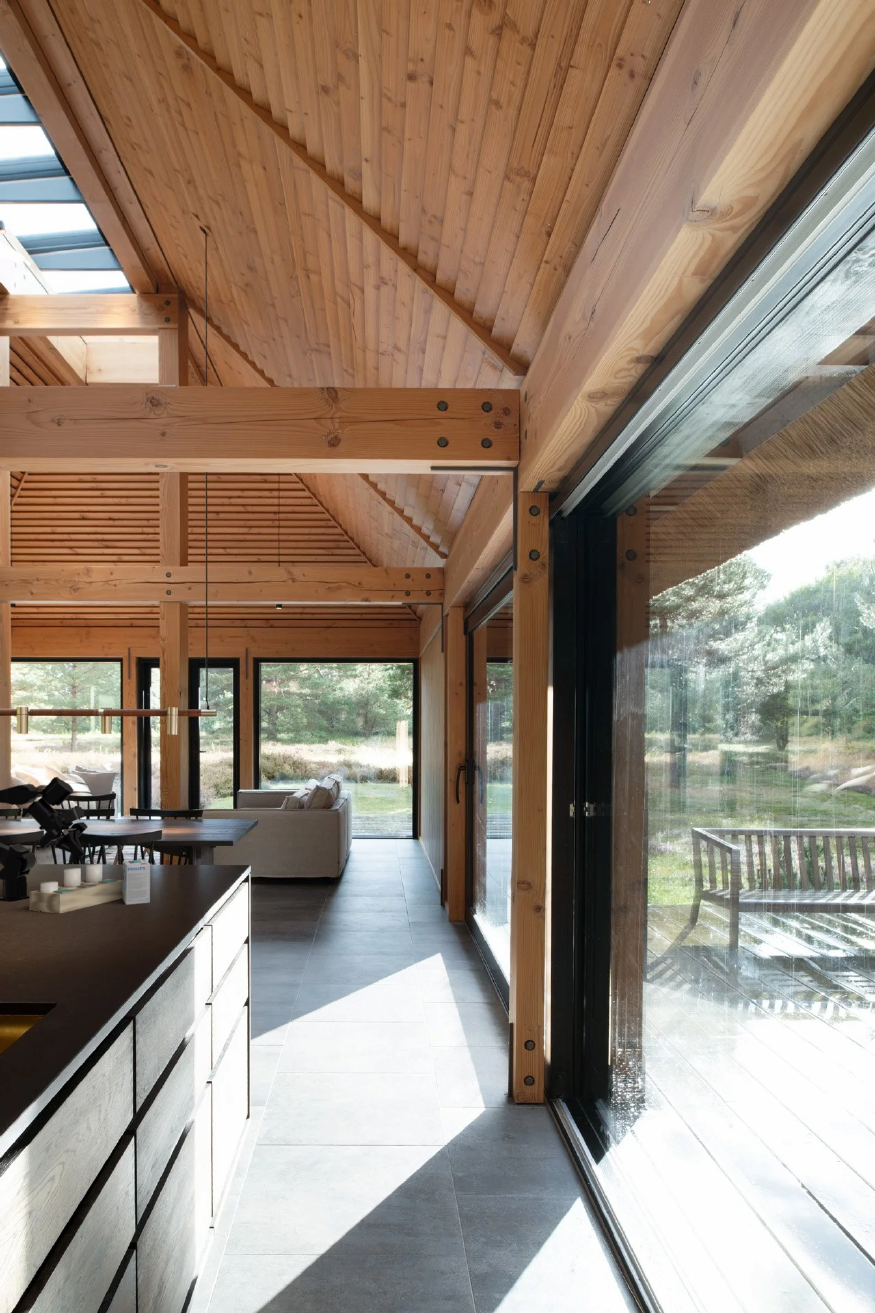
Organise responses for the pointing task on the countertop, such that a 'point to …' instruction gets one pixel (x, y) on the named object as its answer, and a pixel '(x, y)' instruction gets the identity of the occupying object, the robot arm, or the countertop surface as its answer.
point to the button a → (49, 887)
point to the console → (76, 896)
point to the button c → (93, 873)
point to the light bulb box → (136, 882)
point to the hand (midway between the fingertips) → (83, 855)
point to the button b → (72, 877)
